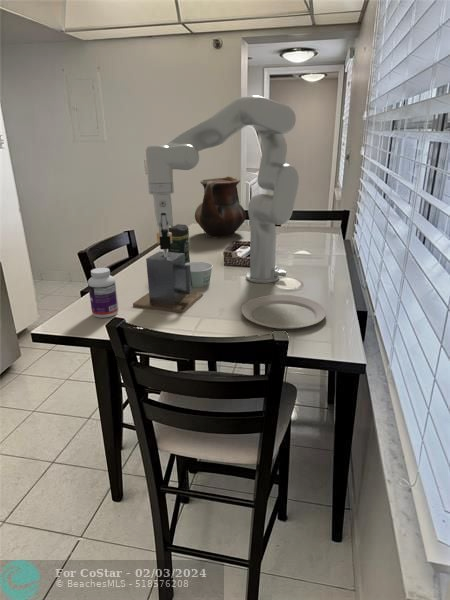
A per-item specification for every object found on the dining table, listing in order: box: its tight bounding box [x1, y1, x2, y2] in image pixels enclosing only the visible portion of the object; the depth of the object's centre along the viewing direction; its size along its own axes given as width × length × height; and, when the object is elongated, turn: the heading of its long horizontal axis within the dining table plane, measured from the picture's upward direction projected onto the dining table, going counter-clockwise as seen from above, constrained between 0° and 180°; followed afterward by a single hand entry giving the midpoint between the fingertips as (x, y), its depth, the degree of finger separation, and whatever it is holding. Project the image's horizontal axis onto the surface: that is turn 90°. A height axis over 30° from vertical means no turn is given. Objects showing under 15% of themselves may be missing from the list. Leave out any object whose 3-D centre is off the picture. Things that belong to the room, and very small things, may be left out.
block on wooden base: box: [132, 250, 204, 314], centre depth 140 cm, size 18×16×16 cm
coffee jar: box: [167, 223, 191, 264], centre depth 171 cm, size 10×8×19 cm
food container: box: [185, 261, 214, 288], centre depth 158 cm, size 12×12×6 cm
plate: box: [240, 294, 327, 330], centre depth 130 cm, size 26×26×2 cm
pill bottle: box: [87, 267, 119, 319], centre depth 130 cm, size 8×8×14 cm
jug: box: [194, 175, 247, 239], centre depth 227 cm, size 32×28×30 cm
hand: (165, 246), depth 136 cm, fingers closed on plunger, 4 cm apart
